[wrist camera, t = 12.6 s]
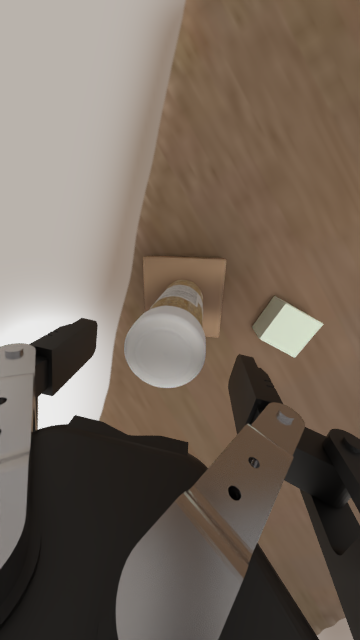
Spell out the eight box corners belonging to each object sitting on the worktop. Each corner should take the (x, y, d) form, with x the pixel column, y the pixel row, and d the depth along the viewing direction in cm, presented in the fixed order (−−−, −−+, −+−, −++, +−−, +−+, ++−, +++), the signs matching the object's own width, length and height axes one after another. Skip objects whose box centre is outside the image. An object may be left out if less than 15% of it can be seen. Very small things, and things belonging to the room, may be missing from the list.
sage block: (274, 295, 27) (286, 303, 23) (306, 313, 27) (323, 324, 23) (251, 326, 28) (259, 338, 25) (282, 343, 29) (294, 357, 25)
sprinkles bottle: (194, 323, 24) (187, 402, 12) (158, 309, 24) (112, 374, 12) (209, 287, 23) (220, 334, 10) (171, 272, 23) (134, 301, 10)
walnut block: (151, 255, 26) (143, 256, 23) (222, 258, 26) (226, 259, 22) (152, 322, 29) (145, 332, 26) (216, 325, 29) (218, 337, 25)
